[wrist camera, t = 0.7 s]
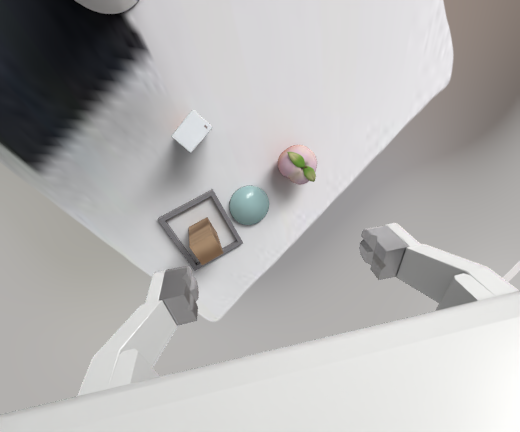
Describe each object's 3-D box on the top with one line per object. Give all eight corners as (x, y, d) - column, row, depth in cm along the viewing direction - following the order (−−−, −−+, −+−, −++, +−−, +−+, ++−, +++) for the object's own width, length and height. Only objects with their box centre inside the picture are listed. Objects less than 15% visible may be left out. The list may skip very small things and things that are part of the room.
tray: (158, 218, 54) (157, 219, 52) (212, 189, 55) (213, 190, 54) (194, 268, 60) (194, 270, 59) (242, 241, 62) (243, 243, 61)
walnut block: (188, 227, 56) (189, 247, 46) (207, 217, 57) (211, 234, 47) (199, 243, 58) (202, 265, 49) (217, 233, 59) (223, 253, 49)
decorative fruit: (311, 157, 60) (333, 162, 51) (293, 184, 61) (312, 193, 52) (284, 136, 56) (303, 136, 47) (265, 165, 57) (280, 170, 48)
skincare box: (191, 113, 49) (193, 107, 38) (207, 128, 51) (214, 126, 40) (173, 136, 49) (170, 136, 38) (190, 150, 51) (191, 154, 40)
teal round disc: (222, 197, 56) (222, 198, 56) (258, 178, 58) (259, 179, 57) (240, 230, 61) (241, 231, 60) (273, 211, 62) (274, 212, 61)
